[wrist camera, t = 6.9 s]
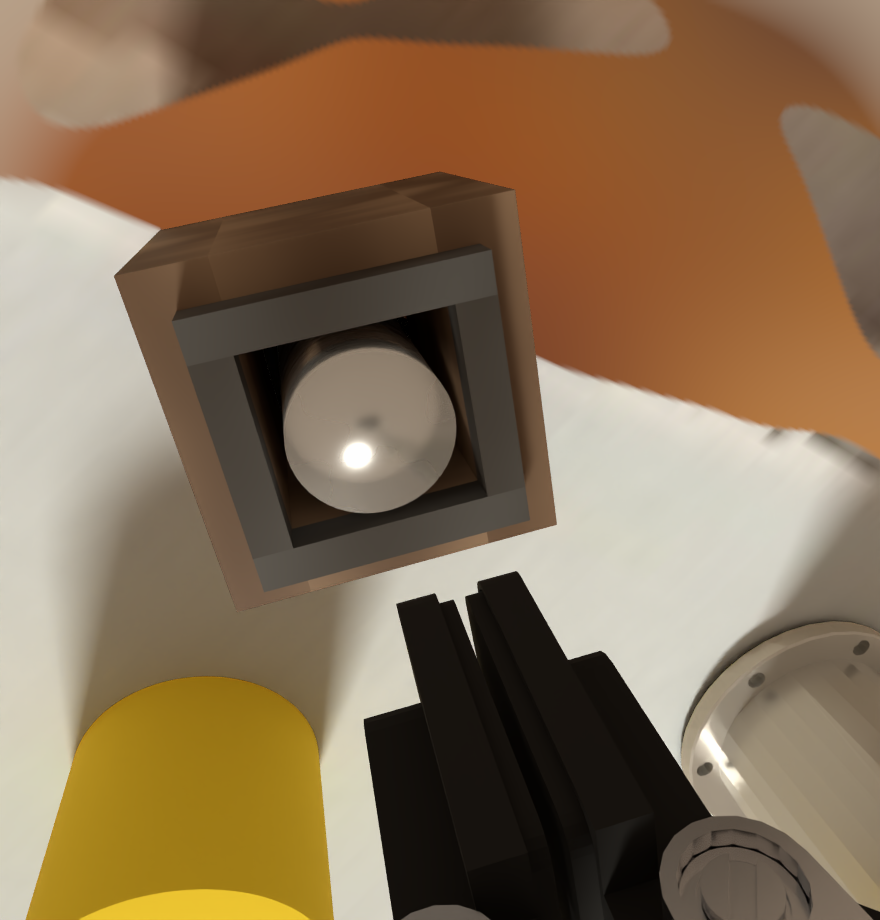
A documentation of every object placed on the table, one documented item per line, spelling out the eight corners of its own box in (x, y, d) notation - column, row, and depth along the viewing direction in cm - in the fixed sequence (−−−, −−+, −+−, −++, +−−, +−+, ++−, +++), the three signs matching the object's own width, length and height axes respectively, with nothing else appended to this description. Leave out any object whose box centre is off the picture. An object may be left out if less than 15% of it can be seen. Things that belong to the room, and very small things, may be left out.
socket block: (440, 171, 24) (529, 193, 16) (481, 423, 28) (570, 542, 20) (159, 230, 23) (105, 284, 15) (244, 484, 27) (235, 634, 19)
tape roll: (142, 641, 29) (92, 854, 20) (361, 722, 33) (396, 929, 24) (29, 821, 31) (-58, 1081, 22) (248, 877, 35) (243, 1115, 26)
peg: (386, 271, 24) (440, 333, 17) (410, 388, 25) (468, 489, 18) (262, 300, 23) (262, 375, 16) (295, 416, 25) (309, 531, 18)
